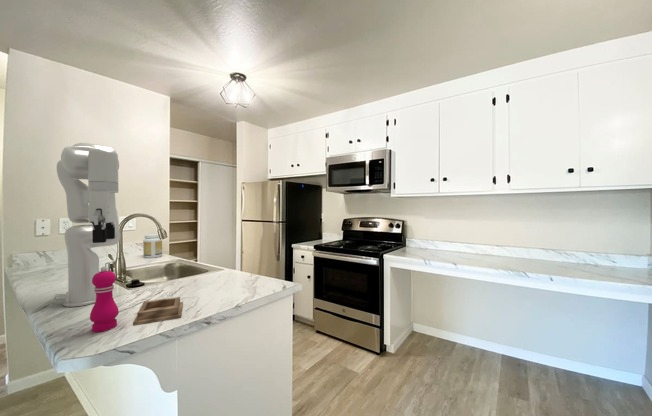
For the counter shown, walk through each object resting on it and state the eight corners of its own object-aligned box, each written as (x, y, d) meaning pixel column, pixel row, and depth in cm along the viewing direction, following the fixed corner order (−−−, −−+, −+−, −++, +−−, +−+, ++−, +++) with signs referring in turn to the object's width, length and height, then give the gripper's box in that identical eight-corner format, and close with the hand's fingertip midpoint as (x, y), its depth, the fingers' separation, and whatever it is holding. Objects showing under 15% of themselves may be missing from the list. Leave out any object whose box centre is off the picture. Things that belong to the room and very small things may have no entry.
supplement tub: (161, 254, 213) (160, 233, 213) (163, 257, 204) (163, 234, 204) (142, 256, 206) (142, 234, 205) (144, 259, 196) (144, 236, 196)
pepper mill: (102, 334, 83) (101, 269, 83) (83, 331, 84) (83, 268, 84) (124, 323, 90) (123, 264, 90) (106, 321, 91) (106, 263, 91)
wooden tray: (133, 325, 89) (133, 314, 89) (141, 310, 101) (141, 301, 101) (181, 317, 95) (180, 307, 95) (183, 304, 107) (183, 295, 107)
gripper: (98, 189, 93) (98, 238, 93) (78, 186, 77) (78, 245, 78) (124, 189, 96) (125, 237, 96) (110, 186, 81) (111, 243, 81)
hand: (104, 240), depth 87 cm, fingers open, 9 cm apart
